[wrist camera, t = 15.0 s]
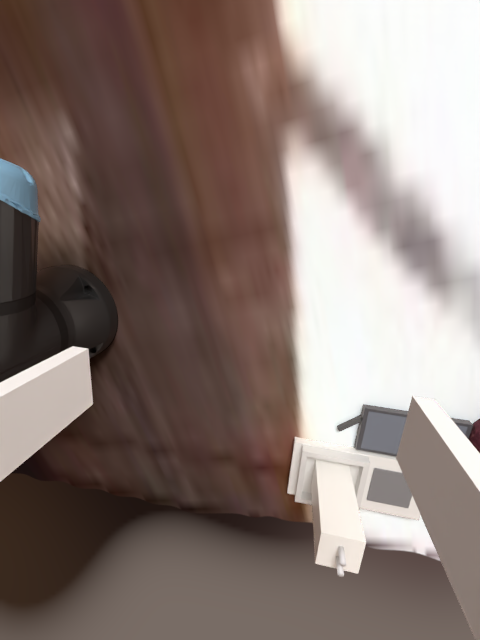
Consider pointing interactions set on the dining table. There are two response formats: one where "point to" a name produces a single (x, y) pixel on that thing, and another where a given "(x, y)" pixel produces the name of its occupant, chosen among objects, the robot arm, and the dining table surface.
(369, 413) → the phone
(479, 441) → the vegetable
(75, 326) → the robot arm
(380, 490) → the white base tray
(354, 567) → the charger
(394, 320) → the dining table surface
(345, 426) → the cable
